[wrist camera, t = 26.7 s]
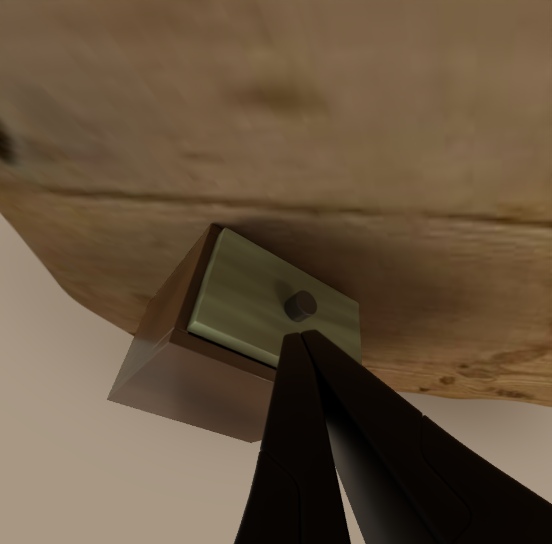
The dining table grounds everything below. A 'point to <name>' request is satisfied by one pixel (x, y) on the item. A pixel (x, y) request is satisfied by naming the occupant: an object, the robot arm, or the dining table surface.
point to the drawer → (267, 303)
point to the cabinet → (192, 363)
